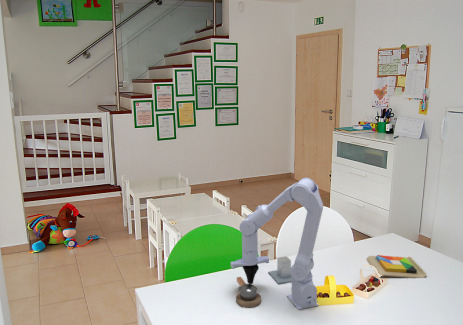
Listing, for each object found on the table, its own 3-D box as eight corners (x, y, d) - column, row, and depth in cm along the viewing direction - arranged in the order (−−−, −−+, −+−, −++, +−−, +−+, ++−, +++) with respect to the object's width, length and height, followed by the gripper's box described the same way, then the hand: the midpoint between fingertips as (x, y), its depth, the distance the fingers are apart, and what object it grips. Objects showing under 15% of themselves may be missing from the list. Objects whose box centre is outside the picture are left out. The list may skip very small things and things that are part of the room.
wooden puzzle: (427, 279, 163) (428, 271, 162) (379, 279, 163) (379, 271, 163) (409, 259, 180) (409, 252, 179) (365, 260, 181) (366, 252, 180)
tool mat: (301, 280, 163) (301, 278, 163) (278, 284, 160) (278, 283, 160) (290, 269, 172) (290, 267, 172) (268, 273, 169) (268, 271, 169)
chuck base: (265, 304, 146) (265, 301, 145) (241, 309, 143) (240, 305, 143) (255, 292, 154) (255, 288, 154) (232, 296, 151) (232, 293, 151)
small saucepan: (259, 298, 146) (259, 290, 146) (243, 302, 144) (243, 293, 144) (246, 281, 159) (245, 273, 158) (231, 284, 157) (231, 276, 156)
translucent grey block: (290, 276, 164) (291, 260, 163) (281, 278, 163) (281, 261, 162) (286, 272, 168) (286, 256, 167) (277, 274, 167) (277, 257, 165)
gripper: (263, 242, 159) (263, 274, 162) (227, 247, 155) (228, 281, 158) (271, 249, 153) (271, 283, 156) (234, 255, 148) (234, 289, 151)
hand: (250, 282), depth 156 cm, fingers closed
